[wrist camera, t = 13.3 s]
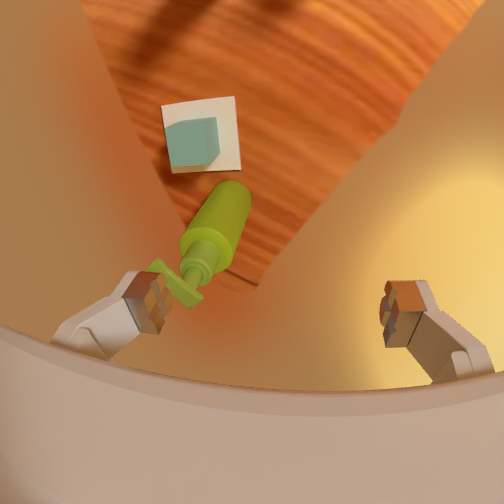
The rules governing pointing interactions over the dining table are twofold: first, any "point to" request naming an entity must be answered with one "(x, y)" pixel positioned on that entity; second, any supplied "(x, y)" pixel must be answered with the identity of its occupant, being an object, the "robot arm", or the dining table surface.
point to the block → (193, 142)
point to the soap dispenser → (208, 242)
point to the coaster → (225, 123)
